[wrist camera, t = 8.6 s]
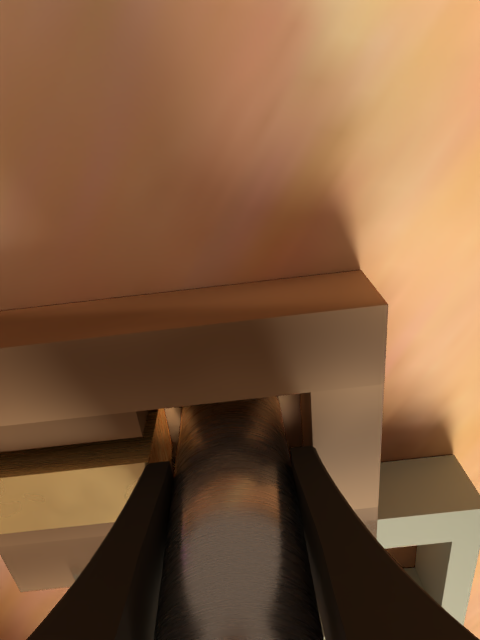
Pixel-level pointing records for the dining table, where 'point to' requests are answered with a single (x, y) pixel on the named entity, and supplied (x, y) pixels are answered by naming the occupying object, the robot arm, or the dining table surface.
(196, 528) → the grey metal cylinder
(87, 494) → the brown rectangular block
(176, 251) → the dining table surface
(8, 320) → the socket block
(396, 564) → the robot arm
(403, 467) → the rack
